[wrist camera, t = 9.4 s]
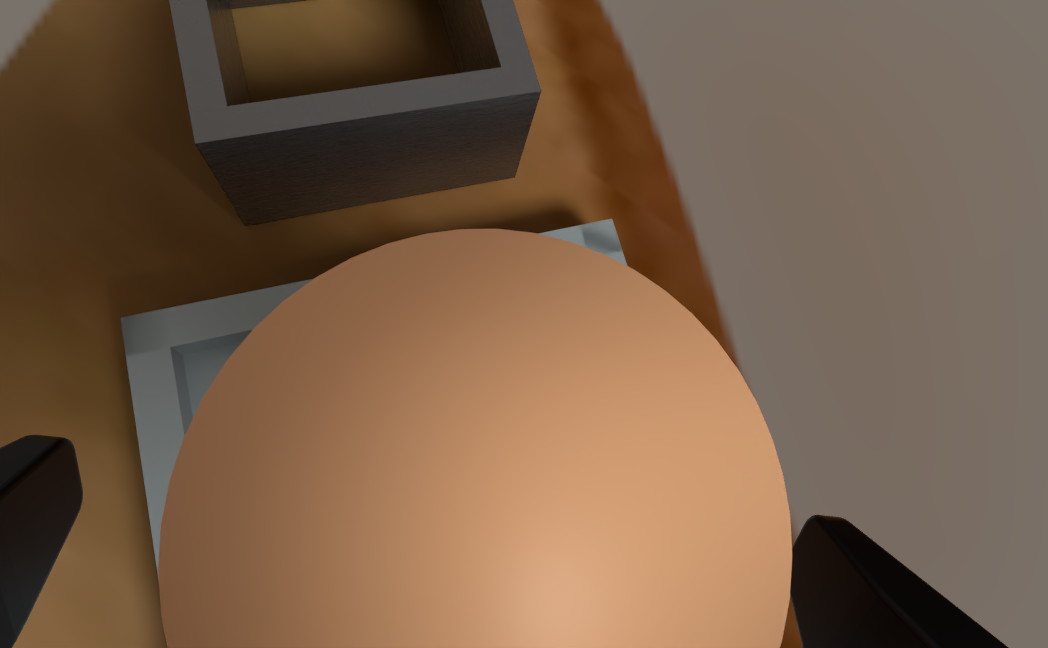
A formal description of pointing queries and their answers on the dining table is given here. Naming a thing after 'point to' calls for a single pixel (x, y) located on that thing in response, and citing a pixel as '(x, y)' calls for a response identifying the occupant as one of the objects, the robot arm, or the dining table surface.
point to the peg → (477, 465)
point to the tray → (221, 361)
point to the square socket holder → (358, 118)
